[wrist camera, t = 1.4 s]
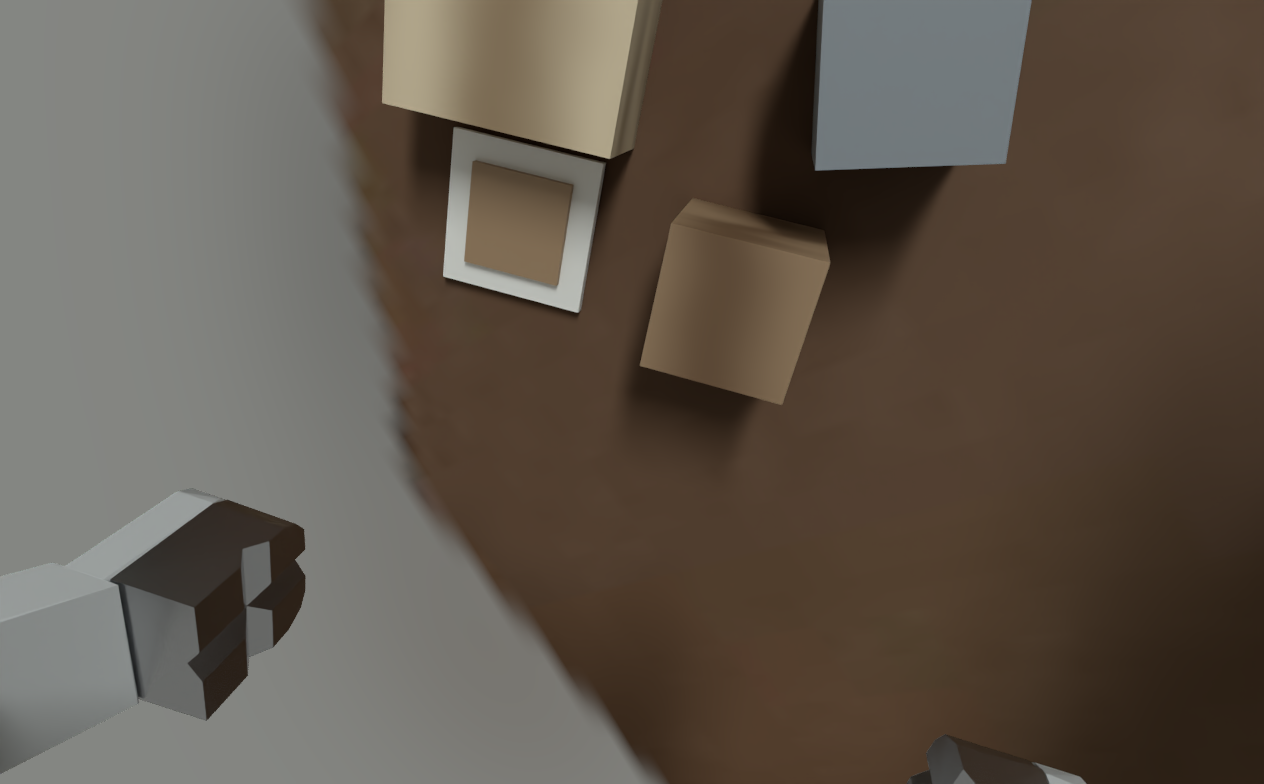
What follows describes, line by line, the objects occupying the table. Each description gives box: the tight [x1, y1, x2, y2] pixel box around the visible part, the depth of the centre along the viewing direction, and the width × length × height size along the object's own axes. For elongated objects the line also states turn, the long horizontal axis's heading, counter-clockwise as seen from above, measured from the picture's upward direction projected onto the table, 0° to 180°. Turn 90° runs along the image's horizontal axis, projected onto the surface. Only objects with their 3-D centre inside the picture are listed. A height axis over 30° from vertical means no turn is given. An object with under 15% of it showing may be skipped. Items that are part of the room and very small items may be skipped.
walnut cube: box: [640, 198, 830, 405], centre depth 24 cm, size 5×5×5 cm
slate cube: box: [811, 0, 1031, 171], centre depth 20 cm, size 5×5×5 cm
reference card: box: [443, 127, 606, 313], centre depth 27 cm, size 6×6×1 cm
